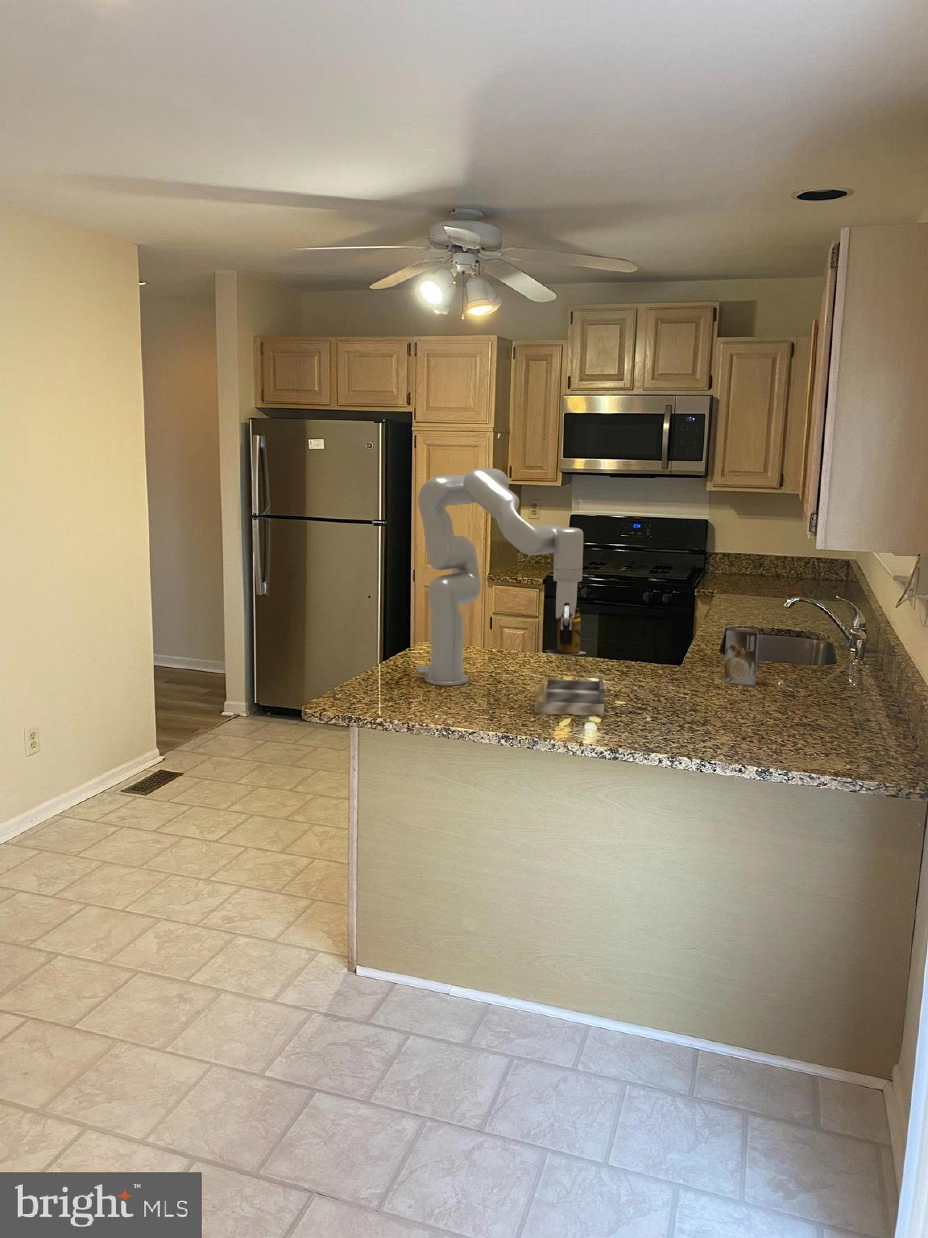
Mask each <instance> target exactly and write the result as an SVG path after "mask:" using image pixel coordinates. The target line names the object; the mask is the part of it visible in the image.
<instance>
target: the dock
mask: <svg viewBox="0 0 928 1238" xmlns="http://www.w3.org/2000/svg"><path fill="white" fill-rule="evenodd" d="M533 711H534V714H546V715H565V714H572V715H573V716H587V715H601V716H600V717H604V713H605V683H604V676H603V675H598V680H585V679H584V680H583V679H582V680H580V679H579V680H578V679H558V678H557V679H556V678H555V679H554V678H547V685H546V686H545V685H544V684H536V689H535V697H534V710H533ZM572 715H571V716H572Z"/></svg>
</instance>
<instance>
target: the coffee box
mask: <svg viewBox="0 0 928 1238" xmlns="http://www.w3.org/2000/svg"><path fill="white" fill-rule="evenodd" d="M759 633H760V629H757V628H748V627H747V628H746V627H733V626H728V627H727V629H726V633H725V635H726V636H725V637H726V638H725V650H724V651H725V653H724V666H723V667H724V668H723V683H725V684H734V685H735V684H736V685H746V686H755V685H756V683H757V667H758V652H759V651H758V648H759Z"/></svg>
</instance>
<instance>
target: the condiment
mask: <svg viewBox="0 0 928 1238" xmlns="http://www.w3.org/2000/svg"><path fill="white" fill-rule="evenodd" d="M580 611H581V610H580V608H579V607H576V610H575V616H574V619H572V624H571V630H572V644H571V645H560V629H561V617H558V619H557V637H556V638H557V640H556V641H557V642H556V643H557V644H556V645H557V647H556V648H554V649H546V650H544V651H545V652H547V653H549V654H552V655H556V656H557V657H561V658H562V657H567V656H576V655H577V656H578V655H582V654H586V653H587V652H585V651H582V650H581V649H580V648H581V647H580V646H581V623H582V622H581V621H582V620H581V618H580V616H581V615H580V614H581V612H580ZM563 618H564V616H563ZM569 618H570V616H569ZM569 622H570V621H569ZM569 626H570V625H569Z"/></svg>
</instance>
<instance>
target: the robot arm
mask: <svg viewBox="0 0 928 1238" xmlns="http://www.w3.org/2000/svg"><path fill="white" fill-rule="evenodd" d="M509 485H510V482H509V479H508V476H507V475H506V474H505V472H503V471H502V470H501V469H499V468H476V469H473V470H470V471H469V472H468V473H467V474H458V475H449V474H448V475H438V476H434V477H431V478H430V479H428V480H426V481H425V482H424V484H423V485H421V487H420V490H419V492H418V499H417V504H418V509H419V514H420V517H421V522H422V526H423V535H424V540H425V541H424V542H425V548H426V549H425V550H426V556H427V561H428V563H429V566H430V567H431V568H432V569H433V570H436V571H447V570H451V573H448V574H443V575H439V576H437V577H435V578H433V579H432V580H431V581H430V583H429V585H428V588H427V600H428V605H429V611H430V664H429V665H426V666H424V665H416V667H415V673H418V674H422V675H423V674H426V675H425V677H424V680H425V682H426V683H428V684H431V685H435V686H444V687H445V686H447V687H448V686H459V685H463V684H466V683H467V682H468V680H469V677H468V675H466V674H464V673H463V671H464V670H463V669H464V665H463V663H464V662H463V661H464V659H463V657H464V618H463V615H462V613H461V610H460V606H463V605H468V604H470V603H473V602H475V601H476V600H478V597H479V596H480V593H481V578H480V577H481V575H480V571H479V563H478V557H477V552H476V548H475V546H474V544H473V543H472V541H471V539H469V538H468V537H466V536H464V535H455V533H454V527H453V525H454V524H453V520H452V517H451V515H450V514H449V511H447V509H446V507H447V506H459V505H460V506H461V505H470V504H475V503H476V504H477V505H478V506H480V507H481V508H482V509H484V510H485V511H486V512H487V513H488V514H489V515H490V516H492V517H493V518H494V519H495V520H496V521H497V526H498V528H499V530H500V532H501V534H502V535H503V537H504V538H505V539H506V540H507V542H509V543H510V544H511V545H512V546H513V547H515V548H516V549H517V550H519V551H520V552H521V553H523V554H525V555H527V556H537V555H544V554H545V555H546V554H552V553H553V581H554V582H557V583H556V594H555V595H556V596H555V599H556V600H555V618H556V619H557V620H558V618H559V617H561V629H560V645H571V644H572V630H571V624H572V619H574V616H575V610H576V608H577V601H578V600H577V599H578V598H577V597H578V596H577V595H578V583H579V582H583V561H584V560H583V559H584V558H583V556H584V531H583V529H581V528H578V527H571V526H570V527H562V526H558V525H555V524H554V525H553V524H543V525H542V524H541V525H535V526H533V525H531V524H529V523H528V522H527V521H526V520H525V519H524V518H522V516H520V515H519V514H518V512H517V511H518V508H519V506H520V498H519V497H518V495H517V494H515V493H514V492H513V491H512V490H510V489H509V488H510V486H509ZM563 616H564V618H563ZM569 616H570V618H569ZM569 621H570V622H569ZM569 625H570V626H569Z"/></svg>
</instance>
